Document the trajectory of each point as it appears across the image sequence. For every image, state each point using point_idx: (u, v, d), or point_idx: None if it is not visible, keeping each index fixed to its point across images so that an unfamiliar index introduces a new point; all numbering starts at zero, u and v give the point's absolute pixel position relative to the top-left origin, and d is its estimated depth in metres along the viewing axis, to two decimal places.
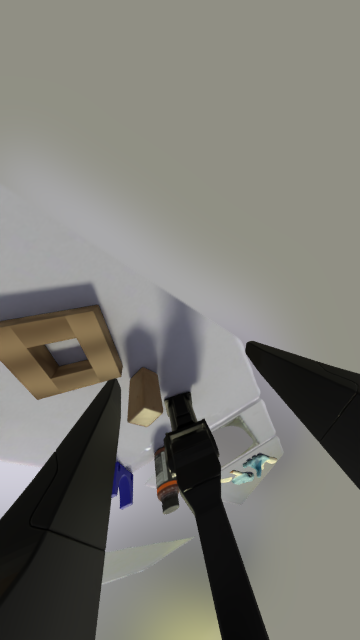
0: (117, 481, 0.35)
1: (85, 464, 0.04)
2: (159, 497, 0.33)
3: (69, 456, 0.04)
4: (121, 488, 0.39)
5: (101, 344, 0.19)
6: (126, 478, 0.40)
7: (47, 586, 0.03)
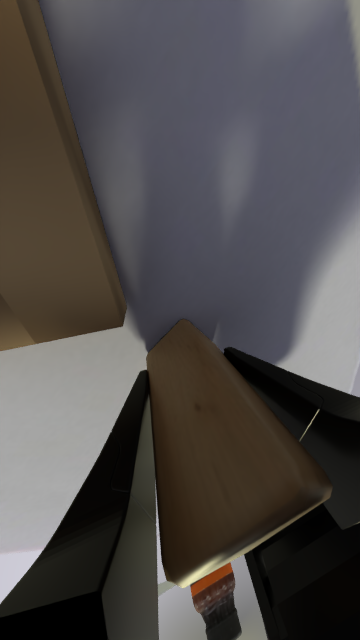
0: None
1: (141, 443, 0.05)
2: (198, 608, 0.16)
3: (127, 435, 0.05)
4: None
5: None
6: None
7: (133, 541, 0.03)
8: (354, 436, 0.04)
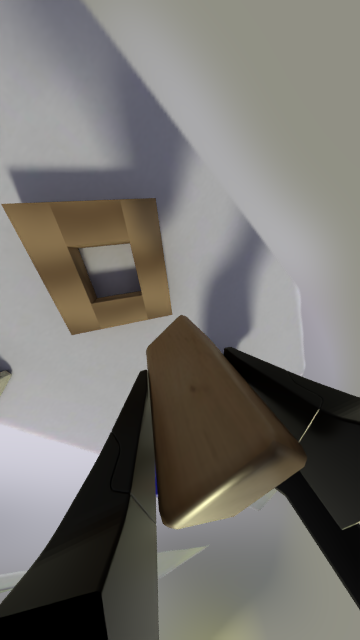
0: None
1: (141, 443, 0.05)
2: None
3: (127, 435, 0.05)
4: None
5: (157, 258, 0.15)
6: None
7: (134, 542, 0.03)
8: (354, 436, 0.04)
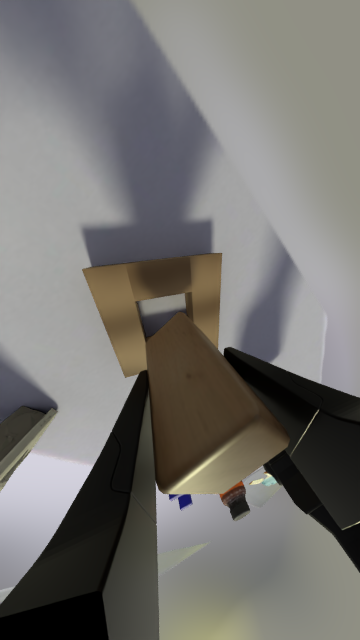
0: None
1: (141, 443, 0.05)
2: (225, 501, 0.29)
3: (127, 435, 0.05)
4: None
5: (213, 304, 0.15)
6: None
7: (134, 541, 0.03)
8: (354, 436, 0.04)
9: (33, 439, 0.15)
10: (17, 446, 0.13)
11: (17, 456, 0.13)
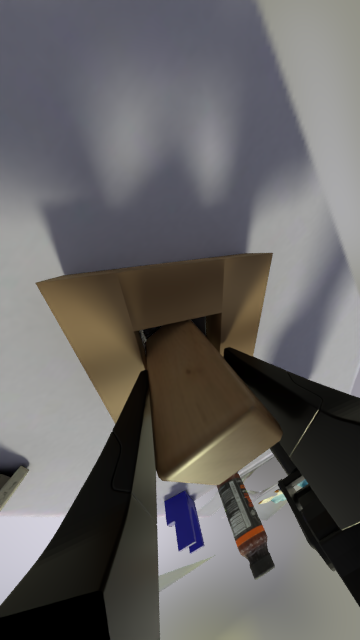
0: (191, 520, 0.26)
1: (142, 443, 0.05)
2: (244, 552, 0.24)
3: (128, 435, 0.05)
4: None
5: (250, 328, 0.10)
6: (192, 510, 0.30)
7: (134, 541, 0.03)
8: (353, 436, 0.04)
9: None
10: None
11: None
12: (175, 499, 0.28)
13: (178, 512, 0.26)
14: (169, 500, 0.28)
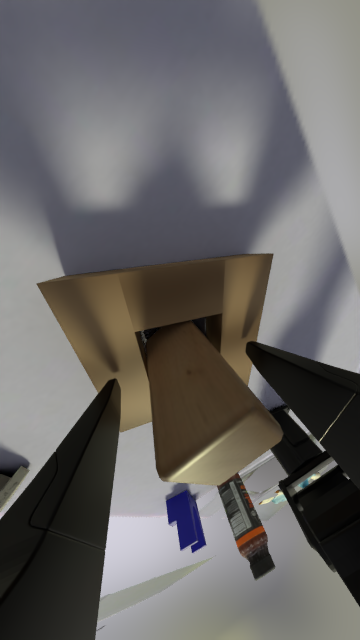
0: (193, 519, 0.26)
1: (85, 464, 0.04)
2: (244, 553, 0.24)
3: (69, 456, 0.04)
4: None
5: (250, 329, 0.10)
6: (193, 509, 0.30)
7: (47, 586, 0.03)
8: None
9: None
10: None
11: None
12: (177, 498, 0.28)
13: (180, 511, 0.26)
14: (171, 499, 0.28)
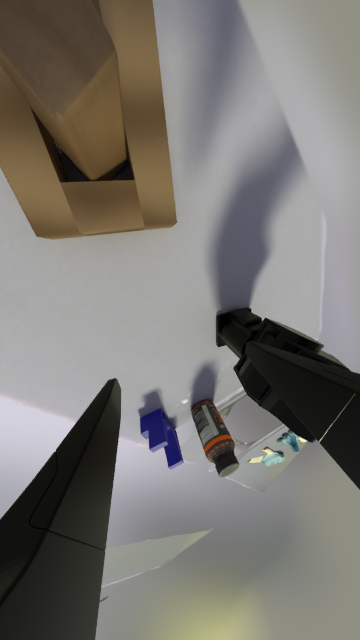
0: (165, 429, 0.26)
1: (85, 464, 0.04)
2: (210, 455, 0.24)
3: (69, 456, 0.04)
4: (166, 444, 0.31)
5: (155, 110, 0.10)
6: (171, 432, 0.31)
7: (47, 586, 0.03)
8: None
9: None
10: None
11: None
12: (150, 415, 0.28)
13: (152, 423, 0.27)
14: (145, 417, 0.28)
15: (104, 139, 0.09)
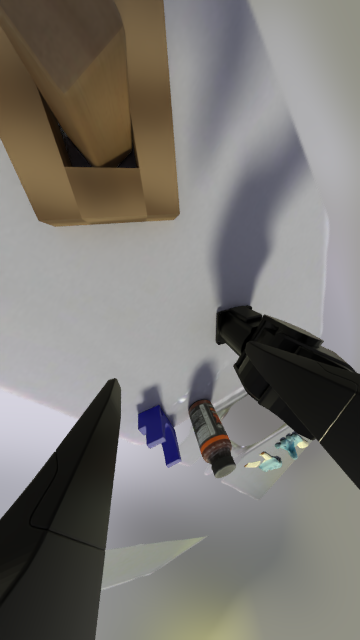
0: (163, 425, 0.26)
1: (85, 464, 0.04)
2: (206, 455, 0.24)
3: (69, 456, 0.04)
4: (164, 442, 0.30)
5: (161, 99, 0.10)
6: (169, 429, 0.30)
7: (47, 586, 0.03)
8: None
9: None
10: None
11: None
12: (149, 411, 0.28)
13: (150, 419, 0.26)
14: (143, 412, 0.28)
15: (110, 122, 0.09)
